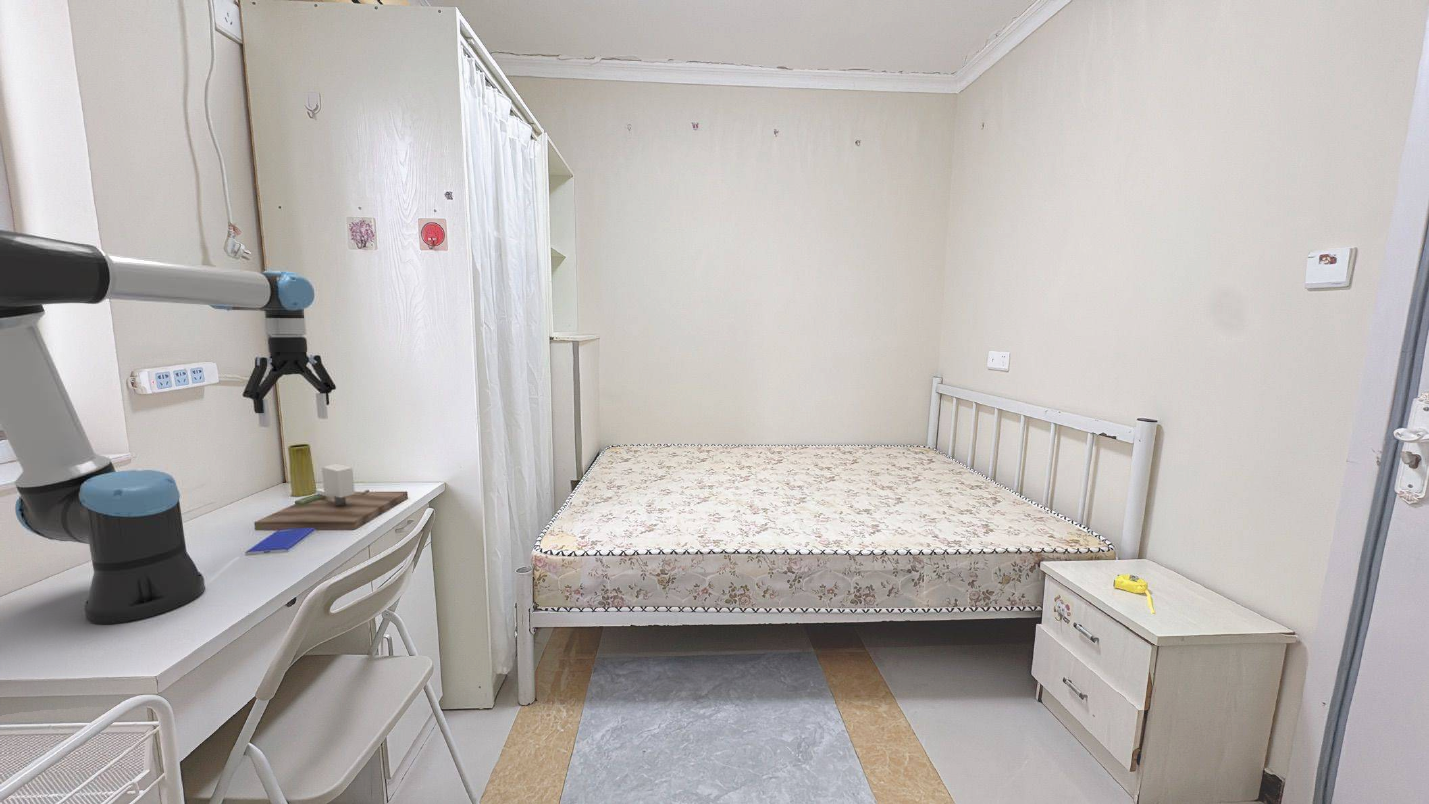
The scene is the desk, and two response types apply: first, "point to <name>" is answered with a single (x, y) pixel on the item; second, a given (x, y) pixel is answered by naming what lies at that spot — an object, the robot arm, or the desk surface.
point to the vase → (301, 470)
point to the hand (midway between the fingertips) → (295, 422)
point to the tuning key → (337, 483)
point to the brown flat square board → (332, 512)
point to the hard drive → (281, 541)
